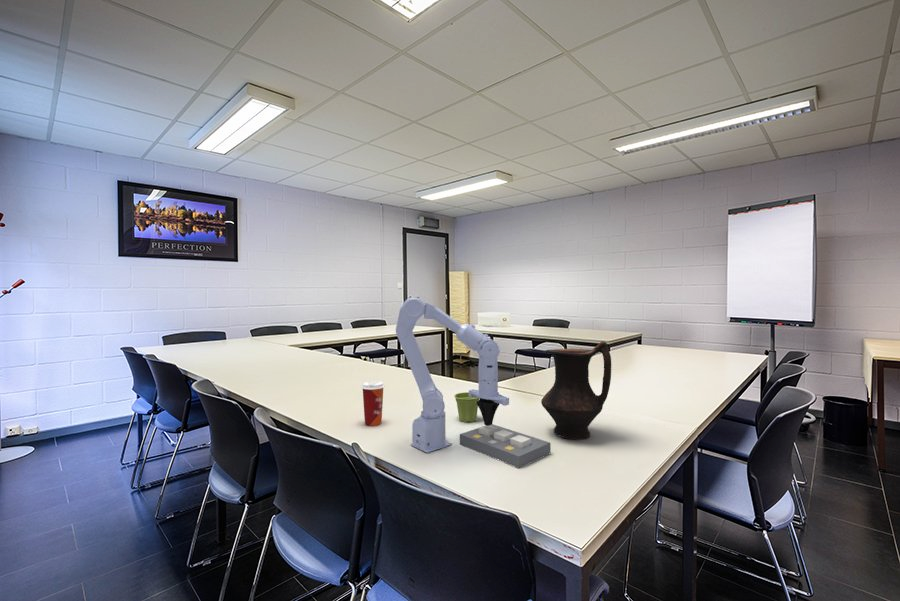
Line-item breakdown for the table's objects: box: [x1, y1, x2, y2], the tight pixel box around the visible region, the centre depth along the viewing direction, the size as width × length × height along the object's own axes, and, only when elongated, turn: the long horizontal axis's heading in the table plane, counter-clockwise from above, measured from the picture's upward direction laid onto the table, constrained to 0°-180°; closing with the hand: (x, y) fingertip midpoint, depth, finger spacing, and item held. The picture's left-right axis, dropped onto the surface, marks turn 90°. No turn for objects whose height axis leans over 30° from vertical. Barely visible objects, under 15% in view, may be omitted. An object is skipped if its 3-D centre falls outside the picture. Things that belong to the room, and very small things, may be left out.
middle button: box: [494, 430, 514, 443], centre depth 112 cm, size 4×4×3 cm
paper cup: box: [361, 380, 385, 427], centre depth 135 cm, size 8×8×14 cm
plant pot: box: [453, 391, 480, 423], centre depth 139 cm, size 9×9×9 cm
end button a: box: [478, 425, 498, 437], centre depth 117 cm, size 4×4×3 cm
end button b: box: [510, 435, 531, 449], centre depth 108 cm, size 4×4×3 cm
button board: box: [459, 423, 552, 469], centre depth 112 cm, size 14×22×3 cm, turn 42°
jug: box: [540, 340, 612, 440], centre depth 123 cm, size 21×18×30 cm
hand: (488, 424), depth 117 cm, fingers closed
